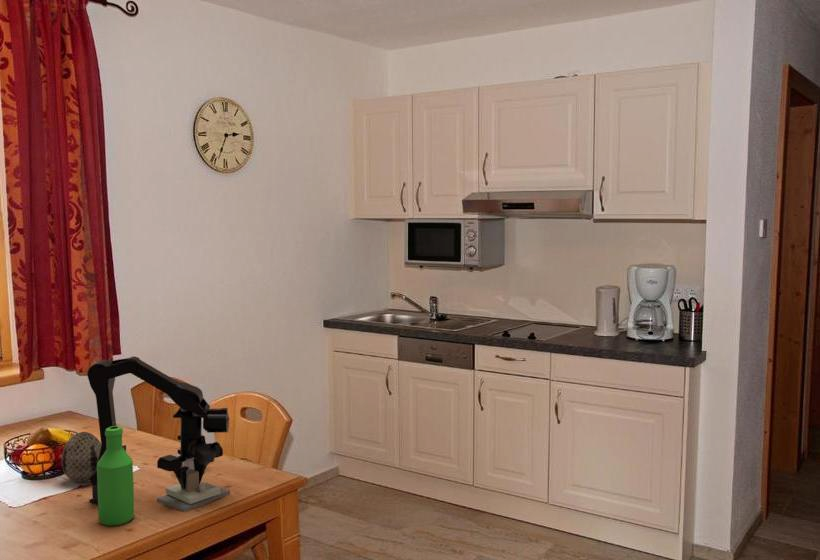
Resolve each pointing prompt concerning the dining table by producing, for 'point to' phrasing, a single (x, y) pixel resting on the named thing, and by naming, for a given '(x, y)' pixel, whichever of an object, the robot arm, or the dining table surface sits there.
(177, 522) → the dining table surface
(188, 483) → the two-prong bracket
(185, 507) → the slate board
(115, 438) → the bottle
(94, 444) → the decorative egg
